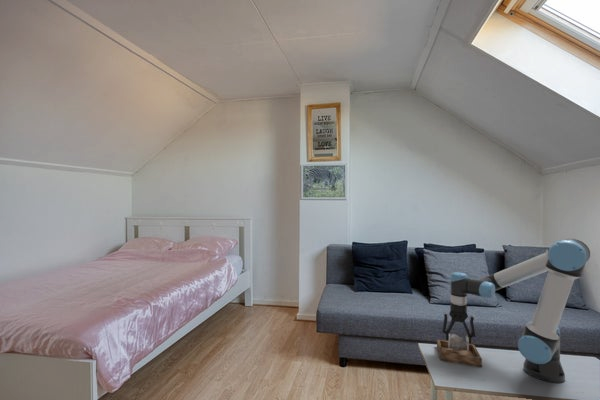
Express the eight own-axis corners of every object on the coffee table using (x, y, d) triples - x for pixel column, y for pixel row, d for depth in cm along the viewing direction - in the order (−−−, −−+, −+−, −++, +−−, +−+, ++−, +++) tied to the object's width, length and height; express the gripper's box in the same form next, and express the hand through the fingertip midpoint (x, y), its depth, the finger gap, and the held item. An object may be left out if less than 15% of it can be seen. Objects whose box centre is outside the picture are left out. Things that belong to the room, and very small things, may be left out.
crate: (474, 352, 165) (474, 344, 166) (481, 367, 150) (481, 358, 150) (436, 346, 171) (437, 339, 171) (440, 360, 156) (440, 352, 156)
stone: (443, 343, 166) (443, 332, 166) (457, 343, 167) (457, 332, 167) (453, 352, 156) (454, 340, 156) (469, 352, 157) (469, 340, 157)
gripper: (479, 303, 161) (479, 348, 161) (435, 299, 168) (435, 342, 167) (483, 307, 154) (482, 354, 154) (437, 303, 160) (437, 348, 160)
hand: (458, 348), depth 161 cm, fingers closed on stone, 8 cm apart
